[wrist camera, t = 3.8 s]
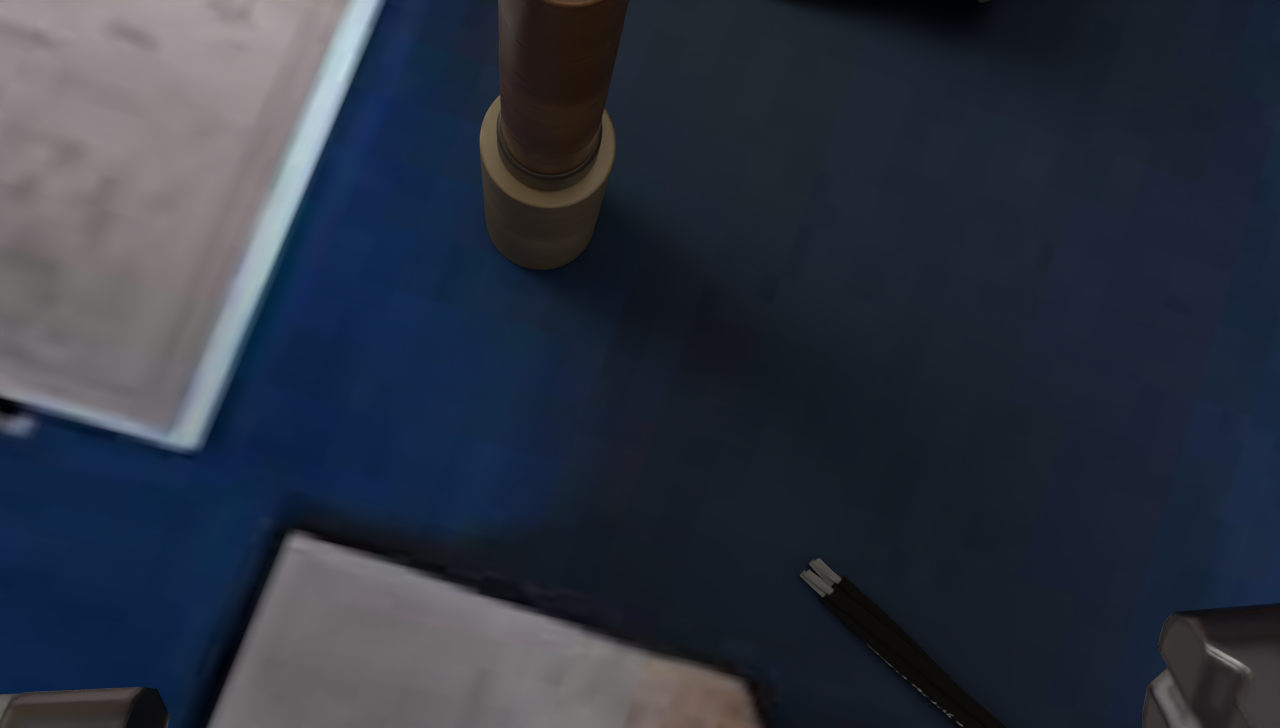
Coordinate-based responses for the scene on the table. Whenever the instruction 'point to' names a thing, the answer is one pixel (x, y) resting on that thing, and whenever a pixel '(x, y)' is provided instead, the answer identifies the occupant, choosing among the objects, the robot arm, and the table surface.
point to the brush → (550, 128)
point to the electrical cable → (896, 647)
